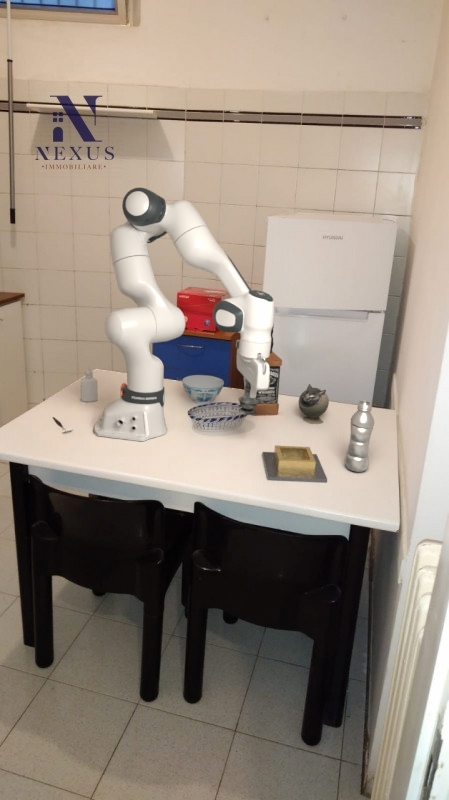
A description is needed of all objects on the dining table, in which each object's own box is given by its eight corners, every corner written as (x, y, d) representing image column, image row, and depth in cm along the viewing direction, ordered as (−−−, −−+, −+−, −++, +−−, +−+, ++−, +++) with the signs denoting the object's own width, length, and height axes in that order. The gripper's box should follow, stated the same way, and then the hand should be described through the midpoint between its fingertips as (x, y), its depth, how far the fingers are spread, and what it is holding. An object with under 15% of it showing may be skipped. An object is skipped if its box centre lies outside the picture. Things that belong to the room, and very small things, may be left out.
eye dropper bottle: (83, 397, 206) (83, 365, 202) (99, 399, 205) (98, 366, 201) (79, 401, 202) (78, 368, 198) (94, 403, 201) (94, 370, 197)
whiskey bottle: (250, 415, 199) (258, 324, 188) (243, 406, 208) (250, 318, 197) (279, 415, 201) (288, 325, 191) (270, 405, 210) (278, 319, 200)
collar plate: (267, 480, 153) (269, 464, 152) (262, 454, 168) (263, 440, 167) (326, 482, 154) (328, 467, 153) (316, 457, 169) (317, 443, 168)
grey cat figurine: (292, 421, 197) (320, 427, 192) (295, 388, 193) (324, 393, 188) (303, 413, 205) (331, 419, 200) (306, 381, 201) (334, 386, 197)
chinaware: (226, 397, 215) (227, 378, 213) (217, 410, 202) (218, 389, 199) (188, 392, 218) (189, 373, 216) (176, 404, 205) (177, 384, 202)
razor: (57, 418, 187) (57, 412, 186) (73, 435, 174) (73, 429, 174) (49, 419, 185) (49, 413, 185) (65, 436, 173) (65, 430, 172)
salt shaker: (246, 416, 167) (251, 377, 162) (233, 409, 171) (238, 371, 167) (261, 413, 170) (266, 375, 166) (248, 406, 174) (253, 369, 170)
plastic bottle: (353, 476, 159) (363, 408, 152) (339, 465, 165) (348, 400, 158) (372, 473, 161) (382, 406, 155) (357, 463, 167) (367, 398, 161)
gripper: (277, 359, 155) (271, 407, 160) (254, 339, 174) (249, 382, 178) (255, 359, 154) (250, 407, 158) (234, 339, 172) (230, 382, 177)
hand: (249, 394), depth 169 cm, fingers closed on salt shaker, 3 cm apart
